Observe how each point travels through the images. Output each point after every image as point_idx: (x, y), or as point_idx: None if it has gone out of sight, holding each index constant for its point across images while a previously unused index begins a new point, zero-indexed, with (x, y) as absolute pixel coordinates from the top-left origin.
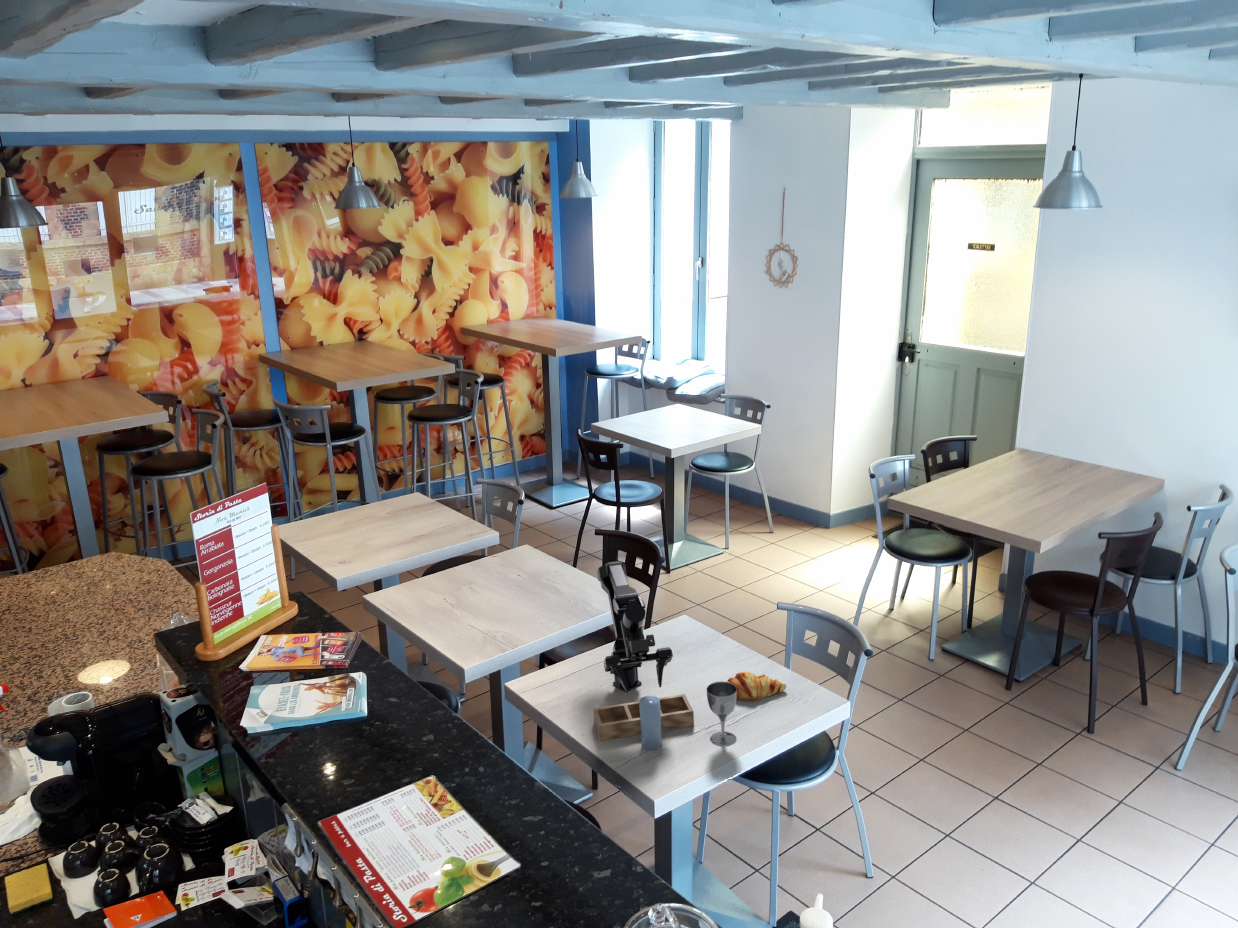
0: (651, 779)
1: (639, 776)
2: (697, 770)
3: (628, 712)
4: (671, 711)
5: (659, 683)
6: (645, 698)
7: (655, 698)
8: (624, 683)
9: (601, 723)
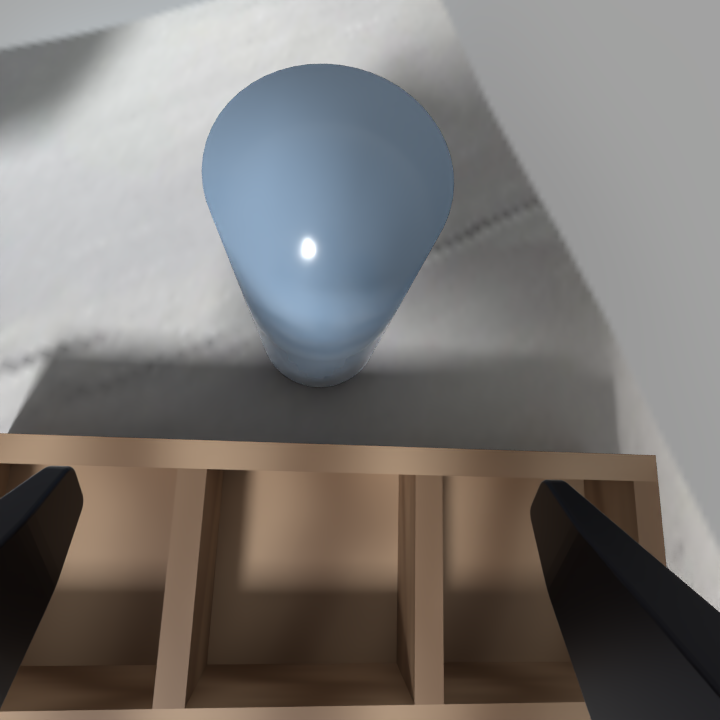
0: (399, 64)
1: (446, 101)
2: (172, 47)
3: (426, 576)
4: (80, 628)
5: (49, 489)
6: (362, 240)
7: (243, 197)
8: (643, 565)
9: (636, 483)
